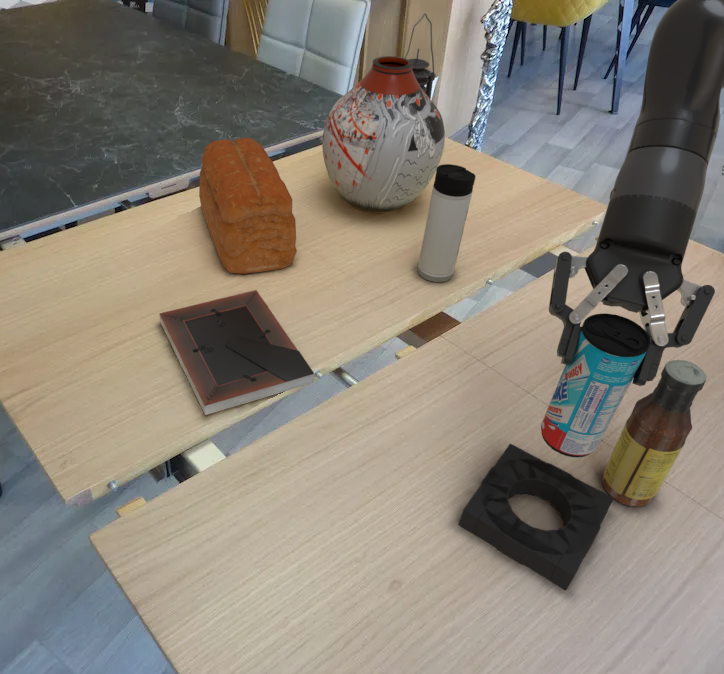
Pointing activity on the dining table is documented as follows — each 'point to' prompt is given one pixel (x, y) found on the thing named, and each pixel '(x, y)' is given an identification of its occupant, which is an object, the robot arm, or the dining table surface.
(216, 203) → the bread
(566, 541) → the pad
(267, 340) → the picture frame
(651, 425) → the sauce bottle
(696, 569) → the dining table surface
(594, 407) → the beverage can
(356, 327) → the dining table surface
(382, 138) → the vase
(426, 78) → the lantern
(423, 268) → the travel mug
